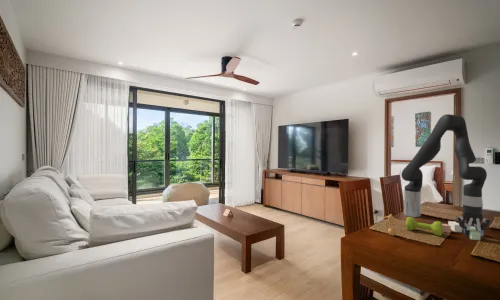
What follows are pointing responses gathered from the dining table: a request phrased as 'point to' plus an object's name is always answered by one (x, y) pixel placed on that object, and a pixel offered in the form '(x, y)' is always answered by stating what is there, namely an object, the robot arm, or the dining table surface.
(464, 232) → the slate brick
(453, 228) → the cream brick
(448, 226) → the terracotta brick
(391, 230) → the figurine
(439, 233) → the dumbbell
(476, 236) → the sage brick
